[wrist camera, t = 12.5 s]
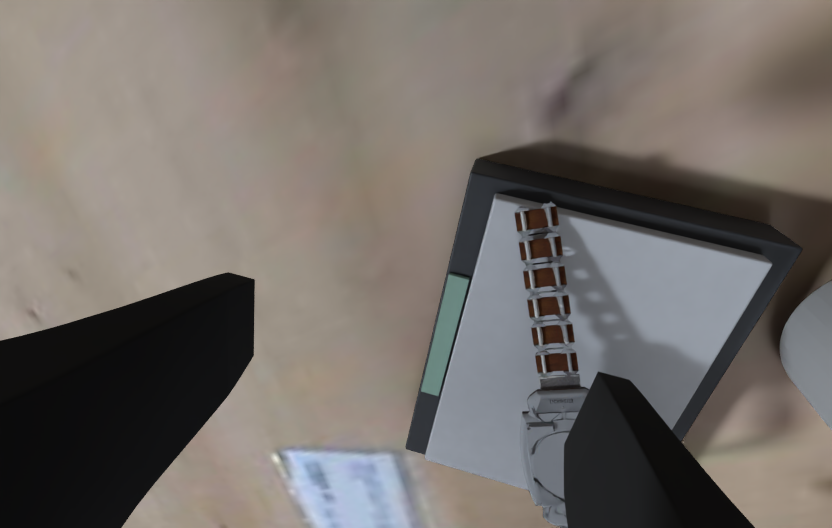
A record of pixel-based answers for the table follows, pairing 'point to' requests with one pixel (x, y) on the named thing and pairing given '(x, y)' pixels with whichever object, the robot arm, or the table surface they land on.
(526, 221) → the wristwatch
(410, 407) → the table surface
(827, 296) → the beverage can
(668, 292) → the scale
